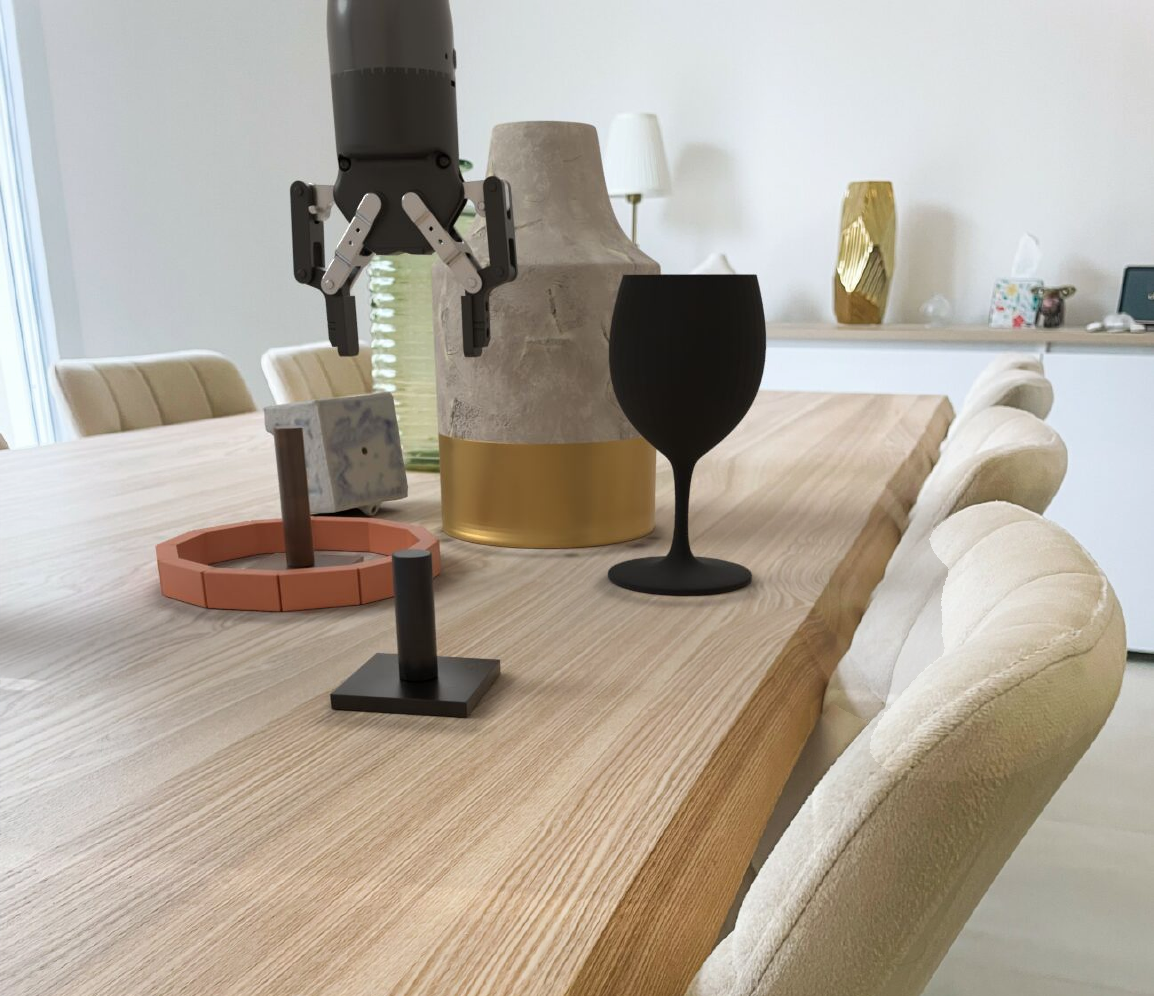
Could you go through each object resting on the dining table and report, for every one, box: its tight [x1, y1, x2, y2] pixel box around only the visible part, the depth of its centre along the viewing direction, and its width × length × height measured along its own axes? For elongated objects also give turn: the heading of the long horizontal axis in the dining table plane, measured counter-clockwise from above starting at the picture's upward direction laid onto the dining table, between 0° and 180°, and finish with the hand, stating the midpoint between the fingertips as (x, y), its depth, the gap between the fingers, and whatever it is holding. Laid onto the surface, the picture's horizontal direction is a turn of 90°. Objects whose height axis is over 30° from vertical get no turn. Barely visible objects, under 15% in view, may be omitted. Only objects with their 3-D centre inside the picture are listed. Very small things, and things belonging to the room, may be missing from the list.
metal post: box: [329, 549, 501, 718], centre depth 59 cm, size 7×7×7 cm
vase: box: [430, 120, 662, 549], centre depth 94 cm, size 18×18×30 cm
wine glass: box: [607, 273, 767, 596], centre depth 79 cm, size 10×10×20 cm
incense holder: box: [262, 391, 409, 517], centre depth 104 cm, size 10×8×10 cm
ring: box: [154, 515, 442, 612], centre depth 83 cm, size 19×19×2 cm
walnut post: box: [244, 425, 365, 570], centre depth 81 cm, size 7×7×10 cm
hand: (410, 356), depth 76 cm, fingers open, 8 cm apart
